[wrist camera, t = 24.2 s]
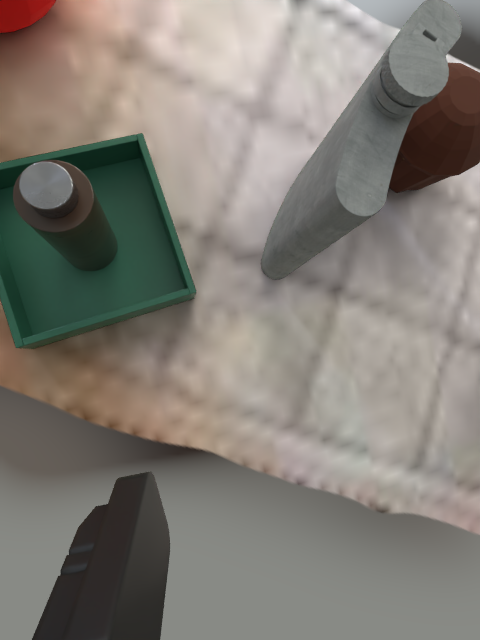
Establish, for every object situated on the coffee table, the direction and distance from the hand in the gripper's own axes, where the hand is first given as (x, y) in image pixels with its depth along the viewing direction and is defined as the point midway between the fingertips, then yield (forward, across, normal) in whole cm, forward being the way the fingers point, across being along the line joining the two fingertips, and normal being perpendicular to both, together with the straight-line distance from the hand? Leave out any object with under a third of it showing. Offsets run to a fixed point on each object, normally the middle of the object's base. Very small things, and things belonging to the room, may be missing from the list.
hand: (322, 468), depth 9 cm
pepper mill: (+28, +13, -5) cm, 32 cm away
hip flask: (+33, -8, -5) cm, 34 cm away
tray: (+29, +13, -5) cm, 32 cm away
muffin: (+37, -21, -9) cm, 43 cm away
